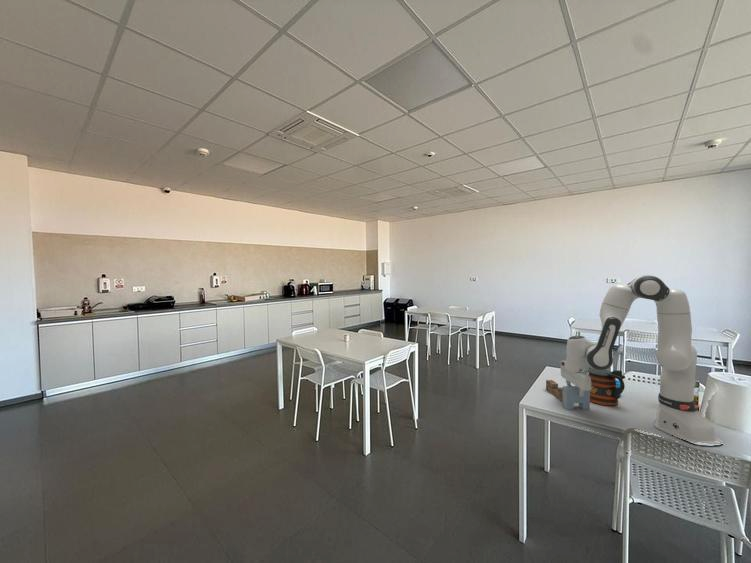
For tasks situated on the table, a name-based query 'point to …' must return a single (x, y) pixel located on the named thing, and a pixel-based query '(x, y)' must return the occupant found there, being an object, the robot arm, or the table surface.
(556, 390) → the walnut rail
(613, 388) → the beer stein
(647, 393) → the table surface
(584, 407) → the light blue block
